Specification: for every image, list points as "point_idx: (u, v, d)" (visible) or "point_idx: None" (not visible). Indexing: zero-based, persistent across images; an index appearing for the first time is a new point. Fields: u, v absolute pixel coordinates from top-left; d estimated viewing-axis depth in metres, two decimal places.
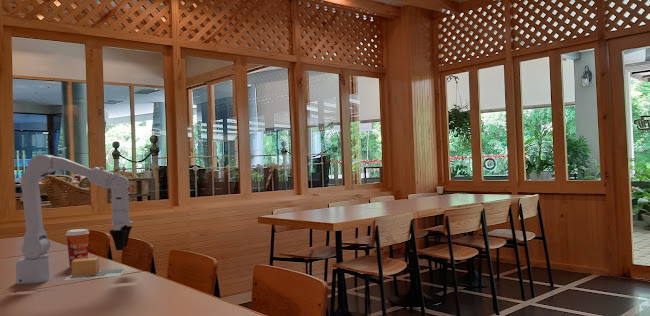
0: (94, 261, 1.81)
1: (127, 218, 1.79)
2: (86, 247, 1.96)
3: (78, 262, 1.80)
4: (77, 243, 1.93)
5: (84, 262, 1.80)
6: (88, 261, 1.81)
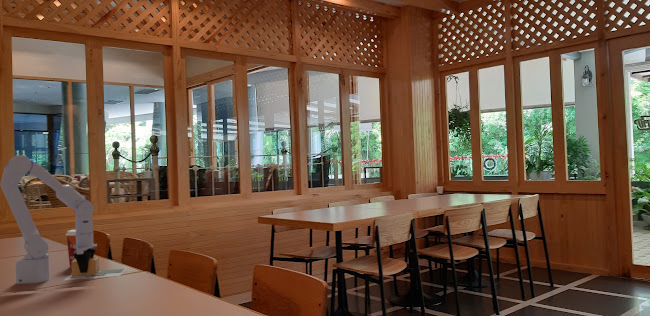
0: (94, 261, 1.81)
1: (91, 241, 1.82)
2: None
3: None
4: None
5: None
6: None
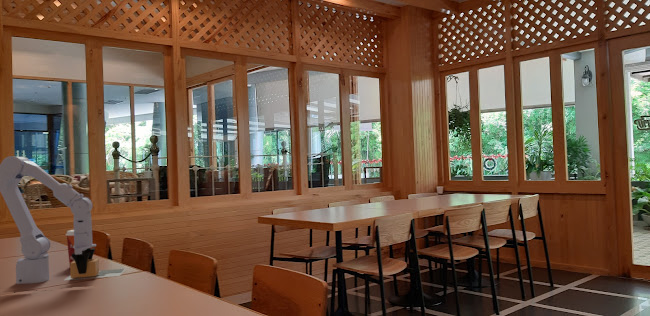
0: (94, 263, 1.76)
1: (90, 241, 1.76)
2: None
3: None
4: None
5: None
6: (87, 263, 1.75)
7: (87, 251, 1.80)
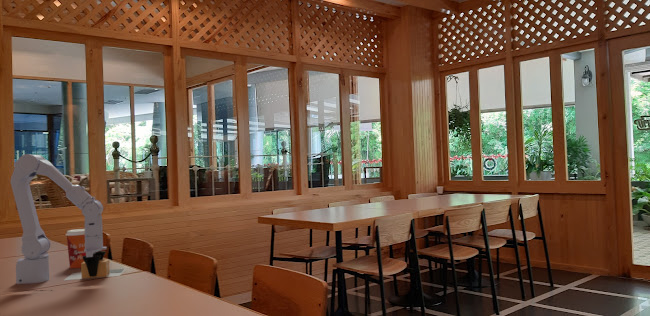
0: (104, 263, 1.76)
1: (100, 244, 1.77)
2: None
3: None
4: (77, 243, 1.93)
5: None
6: (98, 263, 1.76)
7: (97, 254, 1.81)
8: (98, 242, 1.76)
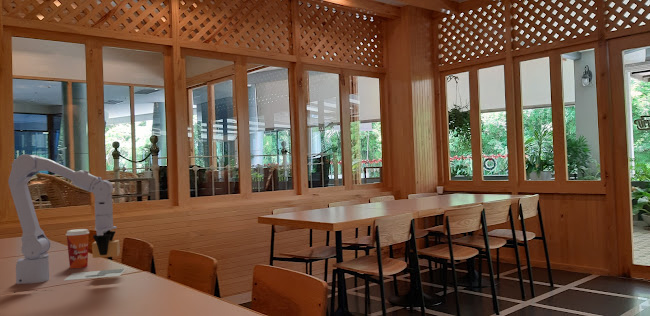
0: (115, 243, 1.77)
1: (110, 223, 1.78)
2: (86, 247, 1.96)
3: None
4: (77, 243, 1.93)
5: None
6: (109, 243, 1.77)
7: (107, 233, 1.81)
8: (108, 221, 1.77)
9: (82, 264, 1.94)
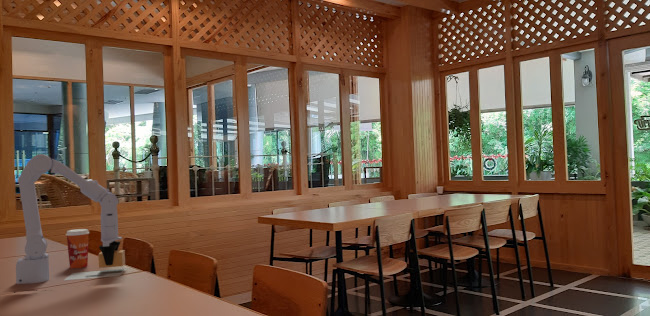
0: (121, 253, 1.83)
1: (116, 234, 1.84)
2: (86, 247, 1.96)
3: None
4: (77, 243, 1.93)
5: None
6: (115, 253, 1.83)
7: (113, 244, 1.87)
8: (114, 232, 1.83)
9: (82, 264, 1.94)
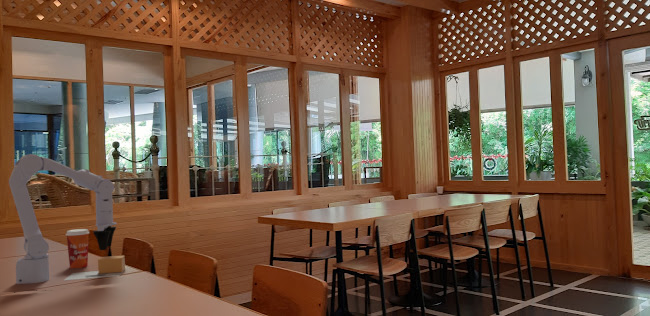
0: (120, 259, 1.83)
1: (111, 219, 1.87)
2: (86, 247, 1.96)
3: (104, 260, 1.82)
4: (77, 243, 1.93)
5: (110, 260, 1.82)
6: (114, 259, 1.83)
7: (108, 229, 1.92)
8: (108, 217, 1.86)
9: (82, 264, 1.94)
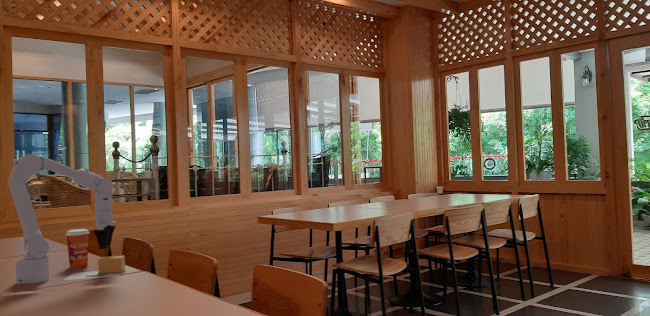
0: (120, 259, 1.83)
1: (110, 218, 1.87)
2: (86, 247, 1.96)
3: (104, 260, 1.82)
4: (77, 243, 1.93)
5: (110, 260, 1.82)
6: (114, 259, 1.83)
7: (108, 228, 1.92)
8: (108, 216, 1.86)
9: (82, 264, 1.94)
